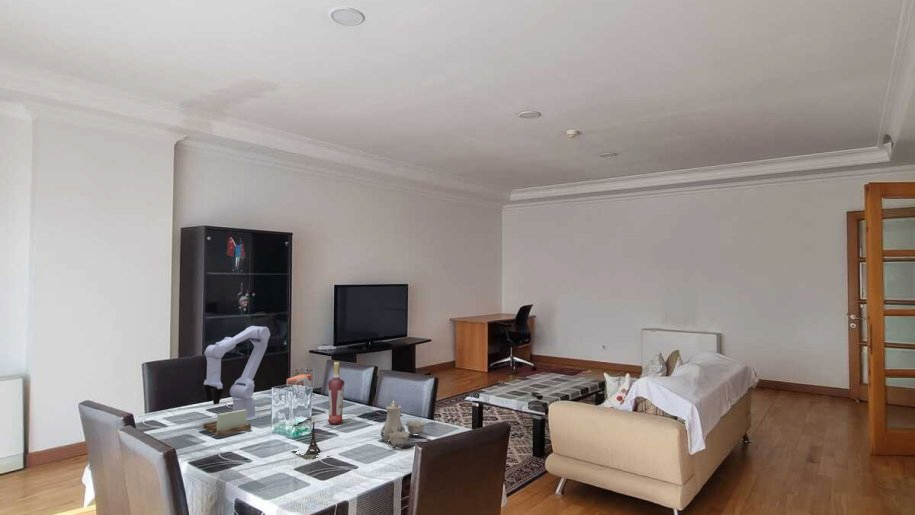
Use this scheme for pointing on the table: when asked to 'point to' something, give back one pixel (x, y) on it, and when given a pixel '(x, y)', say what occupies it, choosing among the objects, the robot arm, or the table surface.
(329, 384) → the liquor
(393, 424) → the chinaware
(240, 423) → the pale green slab
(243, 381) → the robot arm
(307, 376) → the cracker box
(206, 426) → the rack
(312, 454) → the eiffel tower figurine
